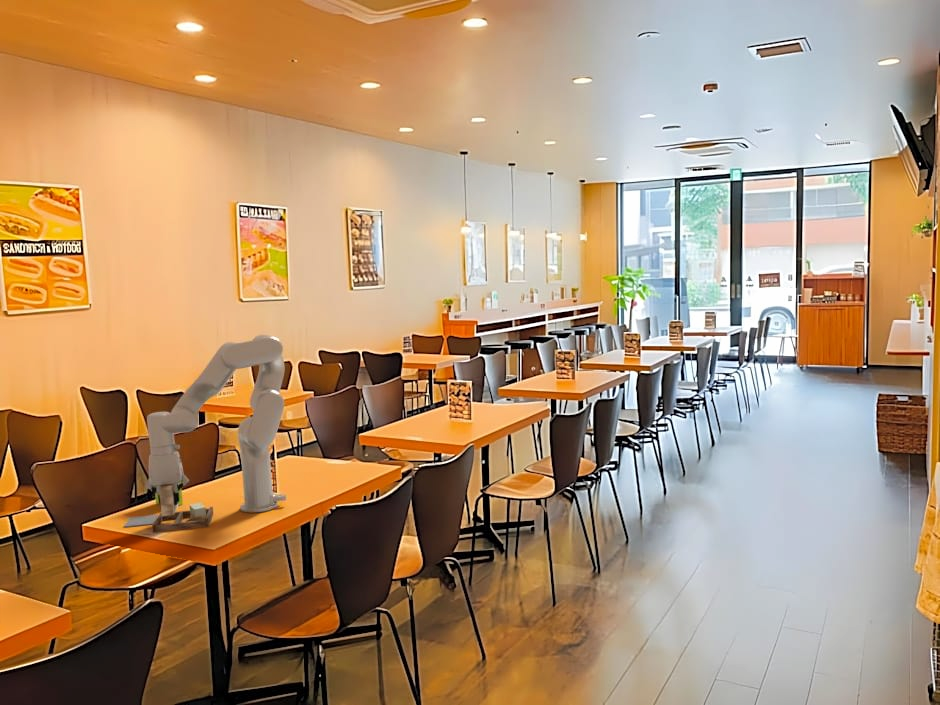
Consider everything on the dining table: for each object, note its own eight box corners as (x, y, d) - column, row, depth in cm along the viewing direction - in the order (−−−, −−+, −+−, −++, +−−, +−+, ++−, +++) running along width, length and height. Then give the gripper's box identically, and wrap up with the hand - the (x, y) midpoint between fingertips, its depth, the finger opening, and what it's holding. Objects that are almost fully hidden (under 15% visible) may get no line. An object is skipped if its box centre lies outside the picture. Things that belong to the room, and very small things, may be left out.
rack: (213, 513, 269) (212, 506, 268) (208, 526, 255) (208, 518, 255) (160, 519, 265) (160, 511, 265) (152, 532, 252) (152, 524, 251)
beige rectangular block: (178, 506, 264) (175, 479, 263) (173, 515, 255) (170, 487, 254) (167, 507, 264) (164, 481, 263) (162, 516, 254) (158, 489, 253)
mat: (158, 515, 269) (158, 514, 269) (152, 524, 260) (152, 523, 260) (130, 518, 268) (130, 517, 268) (123, 527, 258) (123, 526, 258)
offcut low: (205, 517, 266) (205, 508, 266) (205, 525, 258) (204, 516, 257) (191, 519, 265) (191, 510, 265) (190, 527, 256) (190, 518, 256)
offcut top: (200, 509, 265) (200, 502, 264) (206, 514, 259) (205, 507, 259) (190, 512, 263) (189, 504, 263) (195, 517, 257) (194, 509, 257)
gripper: (191, 444, 262) (197, 498, 264) (138, 450, 259) (145, 504, 261) (188, 449, 255) (194, 504, 257) (133, 455, 252) (140, 511, 254)
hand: (169, 504), depth 259 cm, fingers closed on beige rectangular block, 3 cm apart
